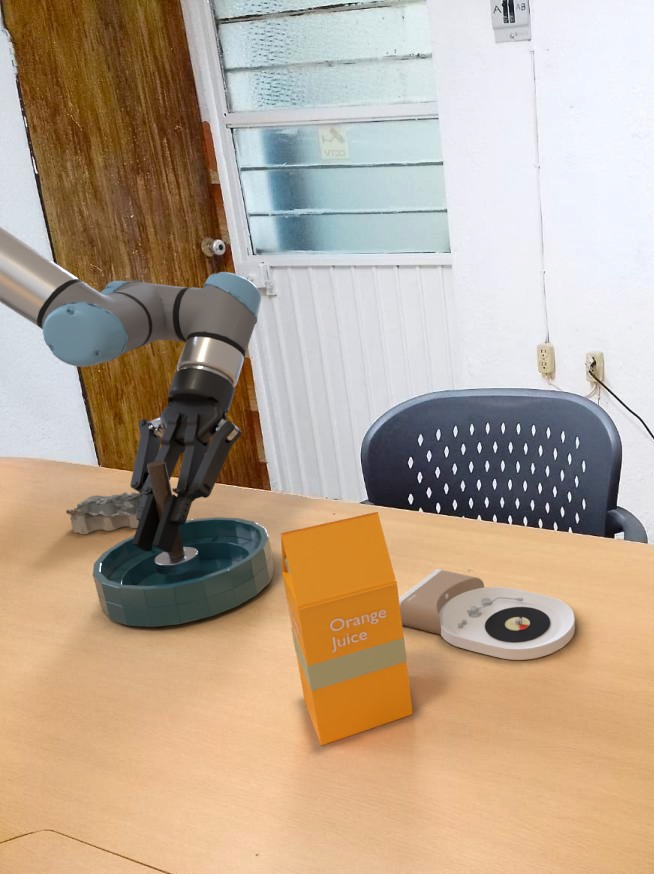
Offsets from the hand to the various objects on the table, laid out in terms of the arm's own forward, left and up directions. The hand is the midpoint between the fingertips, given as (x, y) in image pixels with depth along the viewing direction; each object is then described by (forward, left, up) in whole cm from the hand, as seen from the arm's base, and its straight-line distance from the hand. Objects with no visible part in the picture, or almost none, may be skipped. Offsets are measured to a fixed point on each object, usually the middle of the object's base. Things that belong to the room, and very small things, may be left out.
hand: (151, 547), depth 100 cm
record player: (+26, +33, -7) cm, 43 cm away
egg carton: (-30, -6, -7) cm, 31 cm away
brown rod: (-3, +2, -4) cm, 6 cm away
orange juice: (+34, +16, -7) cm, 39 cm away
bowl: (-1, +3, -7) cm, 8 cm away
